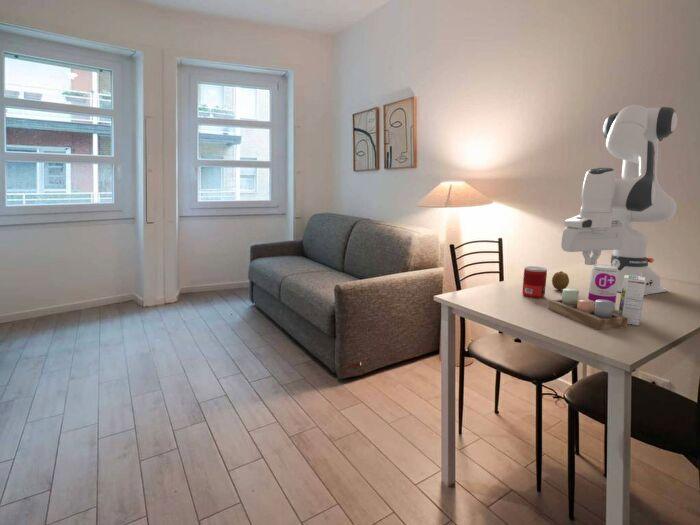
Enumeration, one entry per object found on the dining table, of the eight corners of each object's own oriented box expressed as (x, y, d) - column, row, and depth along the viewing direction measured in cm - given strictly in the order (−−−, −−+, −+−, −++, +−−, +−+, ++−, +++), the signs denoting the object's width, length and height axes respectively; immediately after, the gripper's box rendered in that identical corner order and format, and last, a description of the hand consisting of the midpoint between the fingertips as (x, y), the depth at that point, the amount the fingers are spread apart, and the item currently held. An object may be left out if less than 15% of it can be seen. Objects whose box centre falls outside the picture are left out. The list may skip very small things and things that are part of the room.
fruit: (559, 287, 170) (561, 269, 169) (571, 291, 165) (573, 272, 163) (547, 289, 168) (549, 270, 167) (559, 292, 163) (561, 273, 161)
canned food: (546, 298, 154) (549, 270, 152) (524, 297, 155) (526, 269, 153) (541, 293, 161) (544, 266, 159) (520, 292, 163) (522, 265, 161)
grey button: (602, 314, 128) (604, 298, 127) (615, 319, 123) (617, 303, 122) (590, 315, 127) (591, 299, 126) (602, 320, 122) (604, 304, 121)
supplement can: (614, 313, 136) (620, 269, 133) (586, 309, 140) (591, 267, 138) (614, 307, 143) (619, 265, 140) (587, 303, 147) (591, 263, 144)
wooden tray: (572, 306, 144) (573, 298, 143) (626, 327, 123) (627, 317, 122) (548, 308, 142) (548, 300, 141) (598, 329, 121) (599, 320, 120)
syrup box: (617, 317, 132) (623, 274, 129) (639, 321, 128) (646, 276, 126) (617, 322, 127) (622, 277, 124) (640, 326, 124) (646, 280, 121)
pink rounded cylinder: (585, 313, 135) (586, 298, 134) (596, 317, 130) (598, 302, 129) (572, 314, 134) (574, 299, 133) (584, 318, 129) (585, 303, 128)
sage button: (570, 302, 141) (571, 288, 140) (580, 305, 137) (582, 291, 136) (558, 302, 140) (559, 288, 139) (568, 306, 136) (569, 292, 135)
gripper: (614, 219, 132) (609, 261, 134) (560, 221, 127) (556, 264, 130) (631, 220, 126) (626, 264, 128) (575, 223, 121) (570, 268, 124)
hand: (590, 264), depth 129 cm, fingers closed
